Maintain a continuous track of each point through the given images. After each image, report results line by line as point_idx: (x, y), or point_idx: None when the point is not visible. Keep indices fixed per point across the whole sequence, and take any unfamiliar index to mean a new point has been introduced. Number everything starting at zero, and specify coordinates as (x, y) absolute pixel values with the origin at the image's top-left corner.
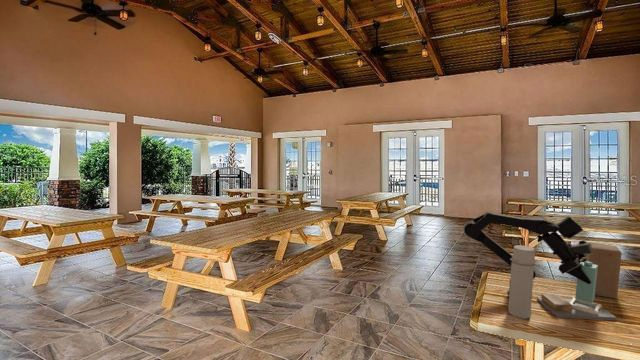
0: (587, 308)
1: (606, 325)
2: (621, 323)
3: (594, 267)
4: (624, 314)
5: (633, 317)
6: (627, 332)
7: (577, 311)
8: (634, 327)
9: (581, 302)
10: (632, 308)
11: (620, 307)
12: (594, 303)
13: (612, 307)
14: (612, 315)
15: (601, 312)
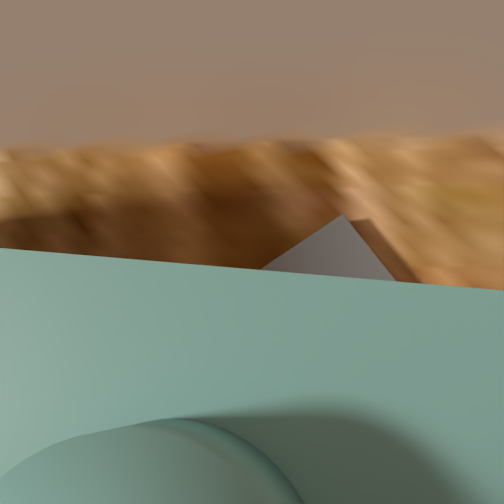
0: None
1: (487, 271)
2: (366, 196)
3: (381, 336)
4: (188, 187)
5: (205, 146)
6: (500, 164)
7: None
8: (374, 137)
9: None
10: (53, 155)
11: (76, 209)
12: None
13: (106, 248)
14: (326, 236)
15: None
